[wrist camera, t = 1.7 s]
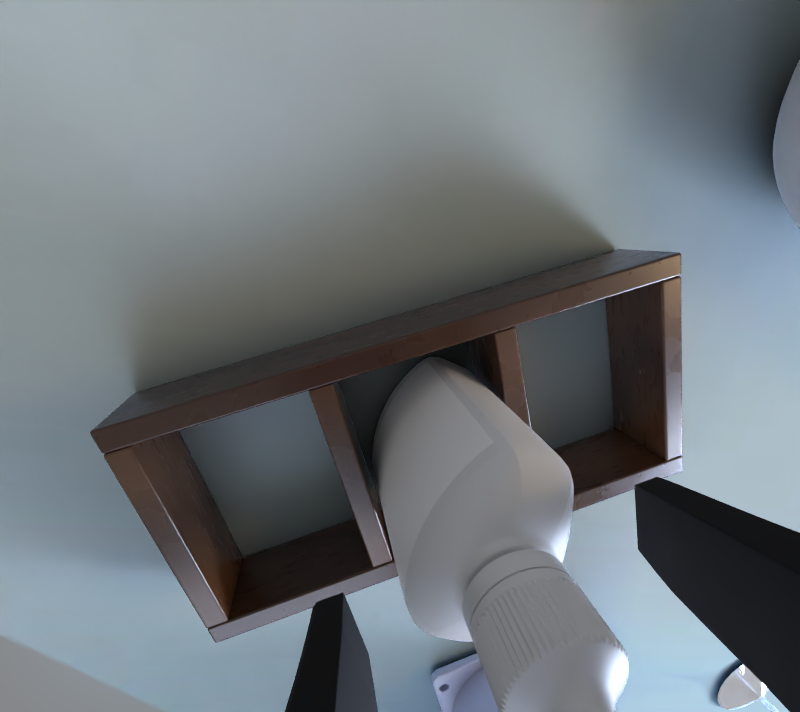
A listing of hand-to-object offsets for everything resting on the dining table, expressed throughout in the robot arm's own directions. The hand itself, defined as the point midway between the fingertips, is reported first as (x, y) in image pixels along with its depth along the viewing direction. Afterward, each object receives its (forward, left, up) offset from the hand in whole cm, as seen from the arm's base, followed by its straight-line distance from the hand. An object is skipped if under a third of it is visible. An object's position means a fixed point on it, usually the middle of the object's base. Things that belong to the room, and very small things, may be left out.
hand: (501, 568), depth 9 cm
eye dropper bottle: (0, 0, -8) cm, 8 cm away
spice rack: (0, 0, -8) cm, 8 cm away
